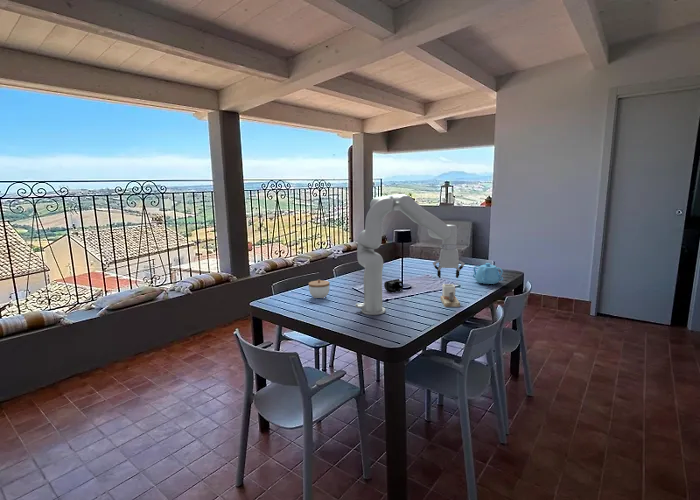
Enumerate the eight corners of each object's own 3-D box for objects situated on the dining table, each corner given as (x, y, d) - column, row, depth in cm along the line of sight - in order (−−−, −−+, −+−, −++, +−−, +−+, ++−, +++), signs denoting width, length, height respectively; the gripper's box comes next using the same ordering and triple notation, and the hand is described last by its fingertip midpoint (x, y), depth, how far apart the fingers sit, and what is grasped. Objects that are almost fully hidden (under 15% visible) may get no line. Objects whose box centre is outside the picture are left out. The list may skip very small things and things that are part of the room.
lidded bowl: (327, 300, 213) (326, 282, 211) (306, 300, 215) (305, 281, 214) (332, 294, 225) (331, 277, 223) (312, 294, 228) (312, 277, 226)
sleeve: (444, 299, 202) (444, 286, 201) (442, 296, 208) (442, 284, 207) (455, 299, 202) (455, 286, 201) (453, 296, 208) (453, 284, 207)
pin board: (444, 306, 195) (444, 294, 194) (440, 299, 209) (440, 287, 208) (459, 306, 195) (460, 293, 194) (454, 299, 209) (454, 287, 207)
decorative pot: (470, 280, 251) (471, 261, 249) (493, 279, 252) (494, 260, 249) (480, 286, 235) (480, 266, 233) (504, 285, 235) (505, 265, 233)
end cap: (396, 288, 237) (395, 278, 236) (403, 290, 231) (403, 280, 230) (384, 290, 231) (383, 280, 230) (391, 293, 226) (391, 282, 225)
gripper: (434, 247, 198) (433, 278, 200) (466, 248, 196) (465, 279, 199) (432, 246, 205) (431, 275, 208) (463, 246, 204) (462, 276, 206)
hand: (448, 277), depth 203 cm, fingers open, 9 cm apart
